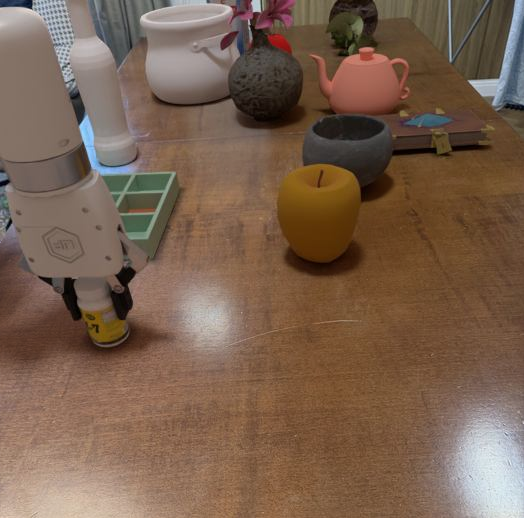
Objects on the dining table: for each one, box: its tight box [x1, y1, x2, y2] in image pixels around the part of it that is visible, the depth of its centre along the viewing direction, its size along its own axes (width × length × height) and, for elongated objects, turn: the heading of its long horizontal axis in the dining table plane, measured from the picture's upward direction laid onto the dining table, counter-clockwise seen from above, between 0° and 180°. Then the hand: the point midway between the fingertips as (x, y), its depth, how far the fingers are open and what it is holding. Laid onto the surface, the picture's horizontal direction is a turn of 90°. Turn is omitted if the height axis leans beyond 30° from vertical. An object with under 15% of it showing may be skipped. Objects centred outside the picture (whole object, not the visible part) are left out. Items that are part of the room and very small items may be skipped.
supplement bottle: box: [74, 277, 131, 348], centre depth 60 cm, size 5×5×8 cm
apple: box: [276, 164, 362, 264], centre depth 68 cm, size 11×11×13 cm
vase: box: [220, 0, 304, 124], centre depth 104 cm, size 17×18×30 cm
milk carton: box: [205, 0, 251, 56], centre depth 146 cm, size 10×6×20 cm, turn 73°
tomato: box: [249, 31, 293, 56], centre depth 135 cm, size 11×13×10 cm
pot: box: [139, 3, 240, 105], centre depth 125 cm, size 26×24×18 cm
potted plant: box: [325, 0, 379, 57], centre depth 144 cm, size 16×15×35 cm
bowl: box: [301, 114, 394, 189], centre depth 85 cm, size 15×15×10 cm
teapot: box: [308, 47, 411, 116], centre depth 109 cm, size 22×16×12 cm
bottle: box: [64, 0, 138, 167], centre depth 93 cm, size 8×8×30 cm
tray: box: [100, 171, 181, 261], centre depth 82 cm, size 15×22×4 cm
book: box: [373, 107, 496, 156], centre depth 98 cm, size 16×25×5 cm, turn 91°
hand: (102, 312), depth 60 cm, fingers closed on supplement bottle, 4 cm apart
